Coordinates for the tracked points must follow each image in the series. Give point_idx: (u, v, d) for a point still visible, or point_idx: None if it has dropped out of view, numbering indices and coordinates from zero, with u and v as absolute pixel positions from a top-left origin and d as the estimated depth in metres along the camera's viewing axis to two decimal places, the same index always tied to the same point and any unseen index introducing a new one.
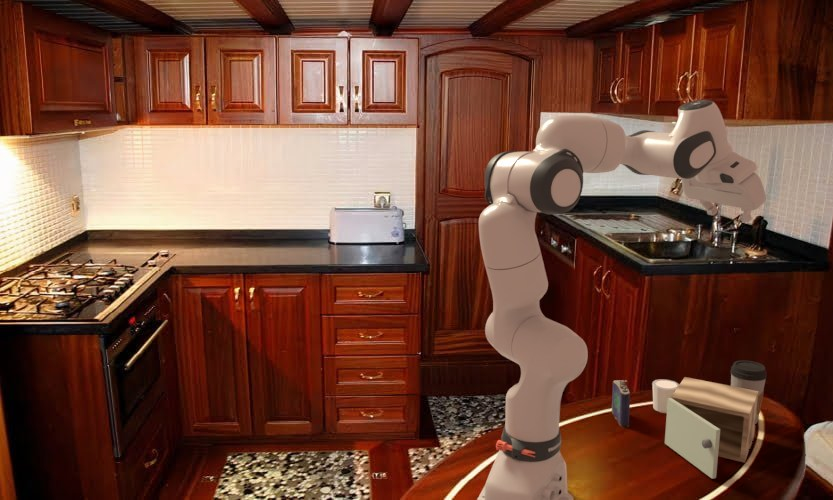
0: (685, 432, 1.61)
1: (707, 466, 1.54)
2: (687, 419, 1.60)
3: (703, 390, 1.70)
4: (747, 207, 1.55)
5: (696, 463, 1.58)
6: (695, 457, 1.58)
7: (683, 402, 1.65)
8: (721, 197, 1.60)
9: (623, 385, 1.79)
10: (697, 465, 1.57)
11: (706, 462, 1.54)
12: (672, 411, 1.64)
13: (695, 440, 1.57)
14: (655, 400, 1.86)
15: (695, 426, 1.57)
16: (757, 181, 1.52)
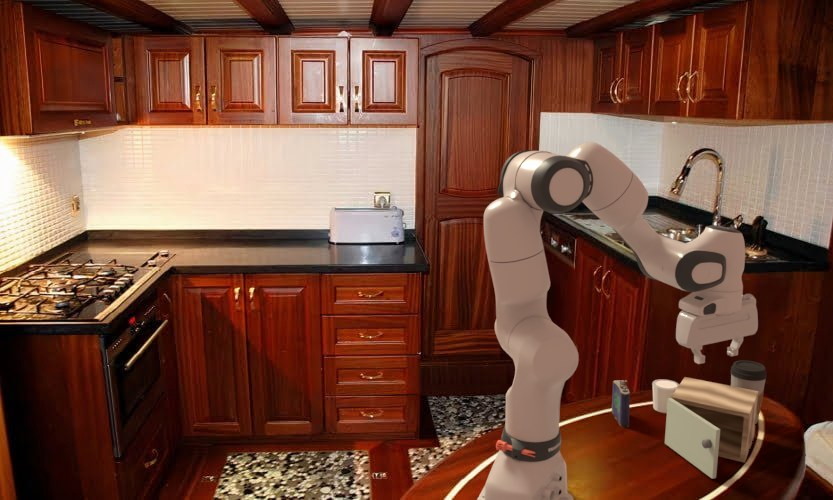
0: (685, 432, 1.61)
1: (707, 466, 1.54)
2: (687, 419, 1.60)
3: (703, 390, 1.70)
4: None
5: (696, 463, 1.58)
6: (695, 457, 1.58)
7: (683, 402, 1.65)
8: None
9: (623, 385, 1.79)
10: (697, 465, 1.57)
11: (706, 462, 1.54)
12: (672, 411, 1.64)
13: (695, 440, 1.57)
14: (655, 400, 1.86)
15: (695, 426, 1.57)
16: (688, 322, 1.50)
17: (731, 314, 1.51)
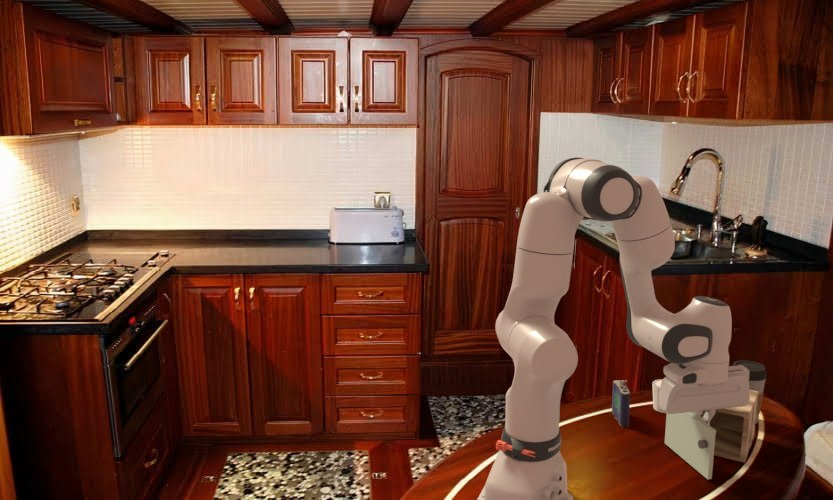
0: (683, 432, 1.61)
1: (703, 467, 1.54)
2: (685, 419, 1.59)
3: None
4: None
5: (693, 464, 1.58)
6: (692, 457, 1.58)
7: None
8: None
9: (623, 385, 1.79)
10: (694, 465, 1.57)
11: (702, 463, 1.54)
12: None
13: (692, 440, 1.57)
14: (655, 400, 1.86)
15: (692, 426, 1.57)
16: (668, 389, 1.53)
17: (715, 385, 1.53)
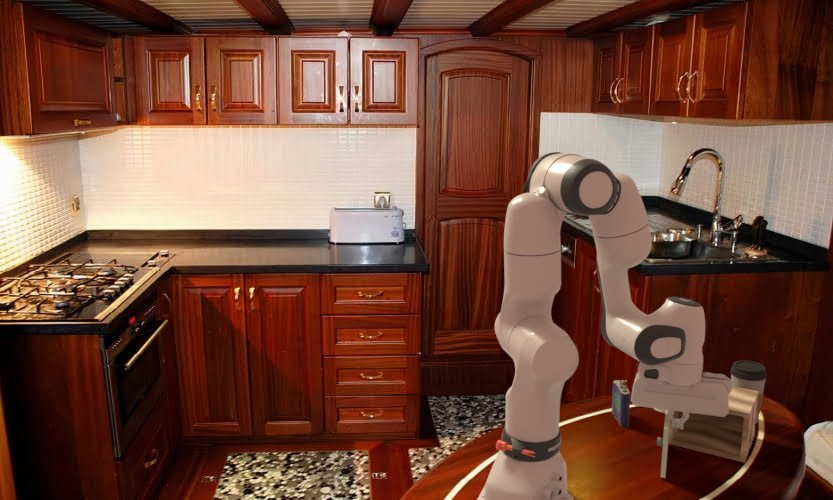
0: None
1: None
2: None
3: None
4: None
5: None
6: None
7: None
8: None
9: (623, 385, 1.79)
10: None
11: None
12: None
13: None
14: None
15: None
16: (634, 380, 1.57)
17: (681, 386, 1.52)
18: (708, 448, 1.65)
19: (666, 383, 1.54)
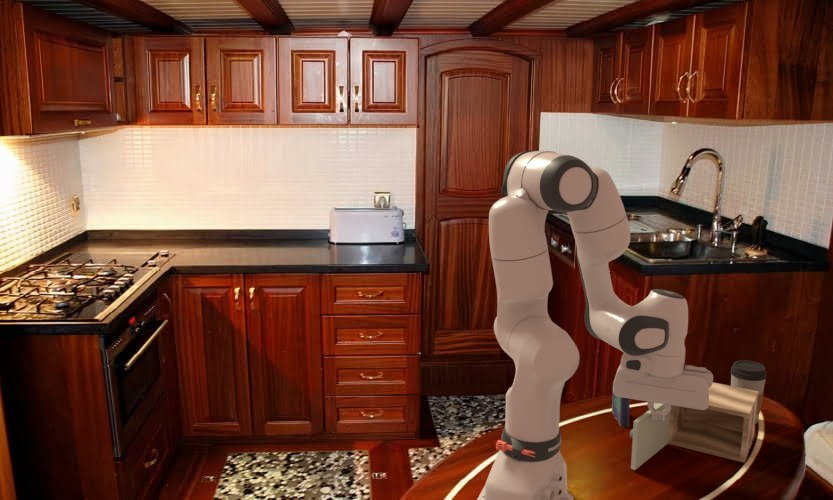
0: None
1: None
2: None
3: None
4: None
5: None
6: None
7: None
8: None
9: None
10: None
11: None
12: None
13: None
14: None
15: None
16: (617, 371, 1.58)
17: (662, 378, 1.53)
18: (708, 448, 1.65)
19: (648, 375, 1.55)
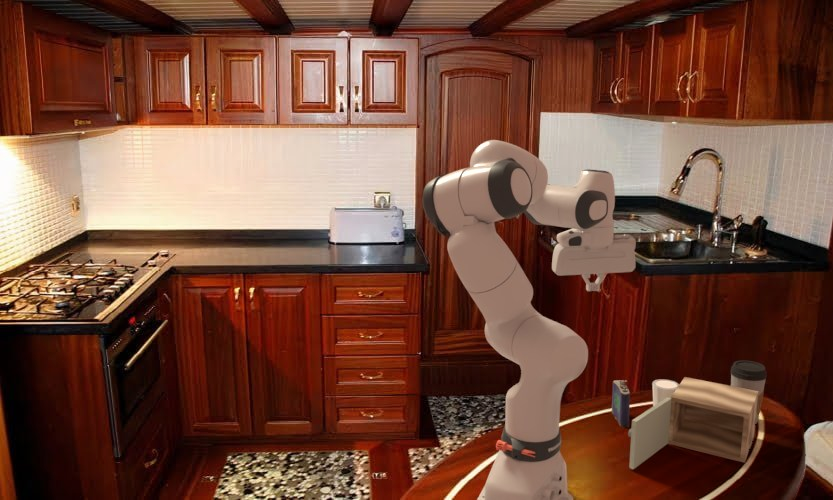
0: None
1: None
2: None
3: (703, 390, 1.70)
4: None
5: None
6: None
7: (683, 402, 1.65)
8: None
9: (623, 385, 1.79)
10: None
11: None
12: None
13: None
14: (655, 400, 1.86)
15: None
16: (557, 252, 1.70)
17: (600, 249, 1.69)
18: (708, 448, 1.65)
19: (585, 249, 1.70)
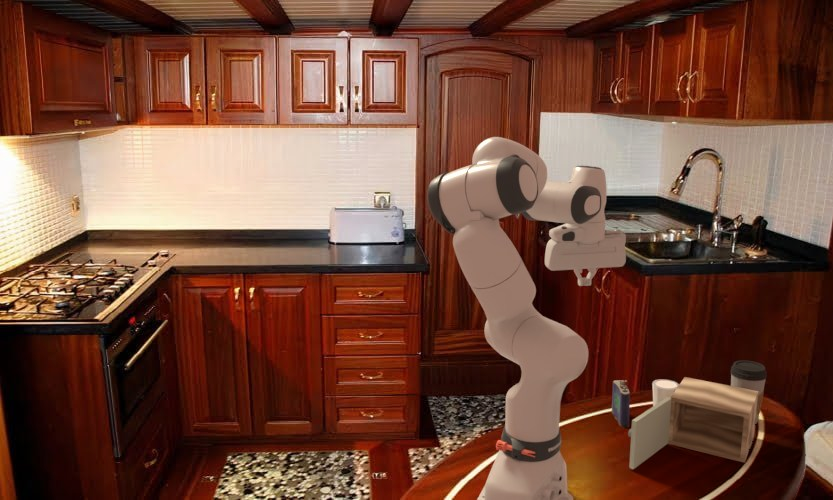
0: None
1: None
2: None
3: (703, 390, 1.70)
4: None
5: None
6: None
7: (683, 402, 1.65)
8: None
9: (623, 385, 1.79)
10: None
11: None
12: None
13: None
14: (655, 400, 1.86)
15: None
16: (551, 247, 1.72)
17: (592, 244, 1.72)
18: (708, 448, 1.65)
19: (578, 244, 1.73)
